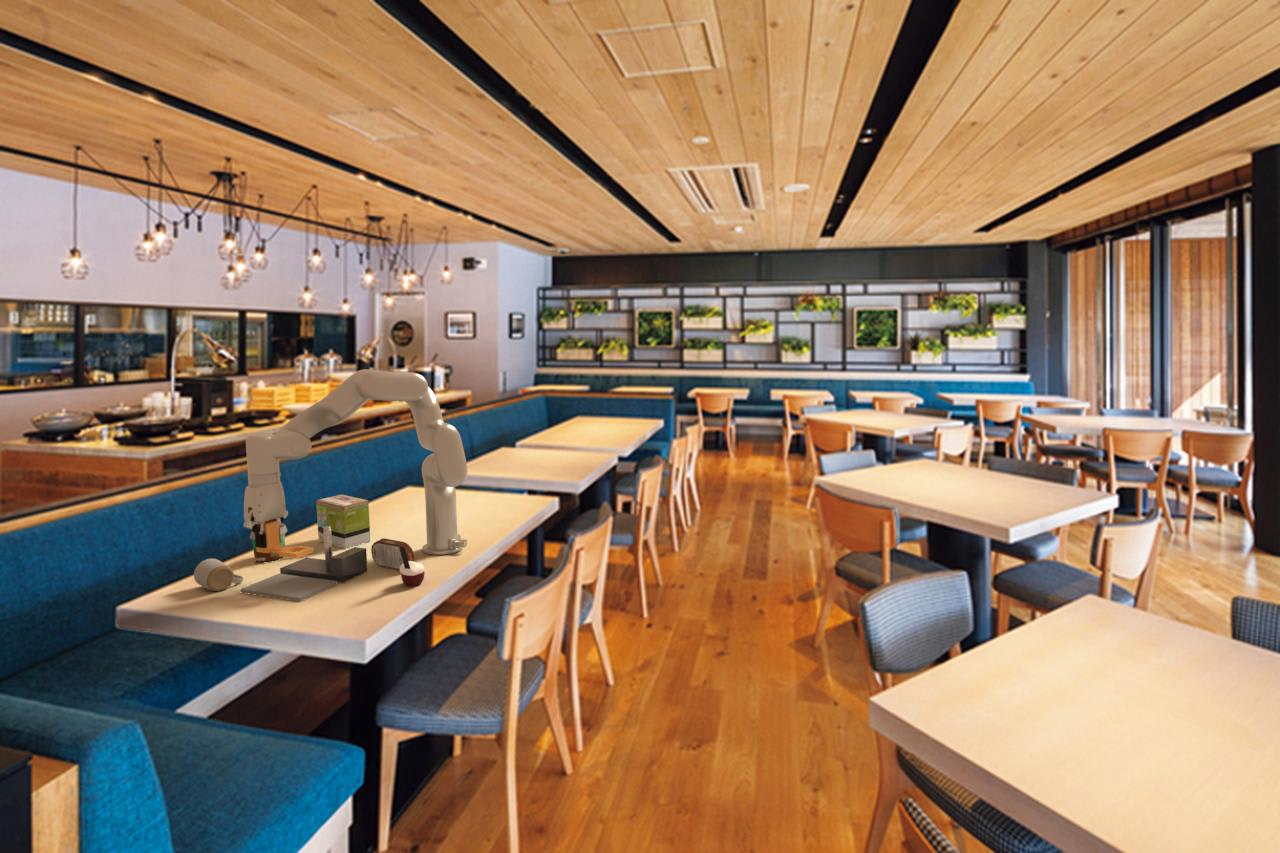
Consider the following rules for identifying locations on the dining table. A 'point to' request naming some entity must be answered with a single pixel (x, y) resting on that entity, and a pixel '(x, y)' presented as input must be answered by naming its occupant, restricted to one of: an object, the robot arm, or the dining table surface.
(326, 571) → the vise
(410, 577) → the cocoa
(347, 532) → the tea box
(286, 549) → the orange block with loop
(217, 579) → the ceramic mug
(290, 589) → the rubber mat
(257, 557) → the food container
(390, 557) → the tin
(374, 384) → the robot arm
